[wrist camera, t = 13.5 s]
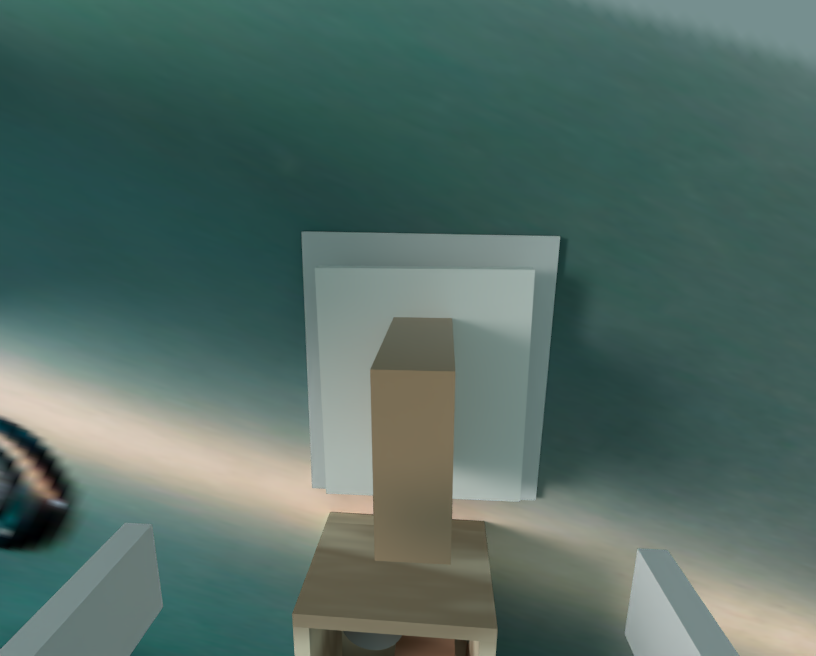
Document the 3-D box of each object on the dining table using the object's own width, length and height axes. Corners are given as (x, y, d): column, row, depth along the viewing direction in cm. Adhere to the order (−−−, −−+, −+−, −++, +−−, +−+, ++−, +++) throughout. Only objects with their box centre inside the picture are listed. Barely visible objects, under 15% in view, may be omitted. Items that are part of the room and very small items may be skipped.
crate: (475, 668, 34) (484, 807, 26) (334, 657, 34) (302, 789, 27) (484, 521, 31) (497, 629, 23) (329, 512, 31) (292, 613, 24)
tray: (534, 496, 30) (535, 500, 29) (313, 484, 31) (312, 487, 30) (558, 236, 26) (560, 236, 25) (303, 231, 27) (301, 231, 26)
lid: (513, 477, 29) (550, 623, 19) (335, 470, 30) (280, 606, 20) (526, 263, 26) (579, 302, 16) (326, 262, 27) (253, 298, 17)
